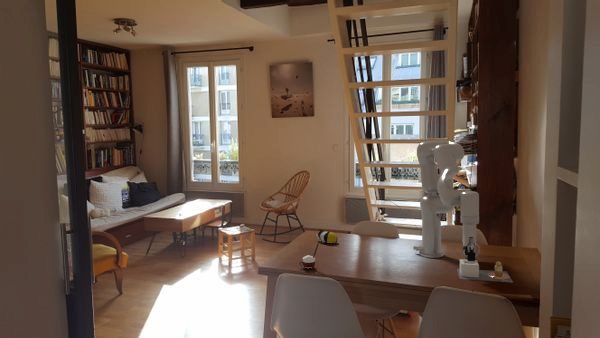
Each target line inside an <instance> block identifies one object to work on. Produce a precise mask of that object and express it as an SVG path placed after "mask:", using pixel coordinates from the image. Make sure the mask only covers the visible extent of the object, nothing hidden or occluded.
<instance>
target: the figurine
mask: <svg viewBox="0 0 600 338" xmlns="http://www.w3.org/2000/svg"><path fill="white" fill-rule="evenodd" d="M318 230H319V231H318V233H316V234H315V235H316V236H315V237H316V238H317V240H318V239H319V242H321V241H323V242H322V243H325V242H326V243H325V244H327V243H334V244H336V243H337V242H338V238H339V237H338V236H337V234H335V232H333V231H325V230H324V229H321V228H318Z"/></svg>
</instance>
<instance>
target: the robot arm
mask: <svg viewBox="0 0 600 338" xmlns="http://www.w3.org/2000/svg"><path fill="white" fill-rule="evenodd" d="M416 157H417V160H418V163H419V167H420V179H421V187H422V188H421V189H422V192H424V193H429V194H430V193H431V194H432V193H438V194H433V195H431V194H430V195H425V196H422V198H421V199H420V202H419V206H420V210H421V211H420V212H421V245H419V246H417V245H413V246H412V247H413V250H414V251H418V255H419V256H421V257H424V258H430V259H438V258H439V259H440V258H443V257H444V256H445V253H444V251H442V222H441V221H442V220H441V219H440V217H439V216H438V215H437V214H447V213H452V212H453V211H454V210H455V207H460V223H461V224H462V245H463V246H465V255H466V256H467V260H468V261H475V254H476V246H477V245H476V244H477V225H479V223H480V202H479V201H480V194H479V193H478V192H477V191H472V190H470V189H466V188H465V189H458V188H457V189H454V182H453V179H452V178H455V176H457V175H458V173H459V172H460V166H459V165H458V162H457V161H462V160H463V159H464V158H465V150H464V147H463V146H462V145H461V144H460V143H458V142H453V141H451V140H427V141H423V142H420V143H419V144H418V145H417V148H416ZM433 158H434V159H435V160H434V159H433ZM438 170H439V173H440V174H439V173H438ZM465 255H464V256H465Z"/></svg>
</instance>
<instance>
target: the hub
mask: <svg viewBox="0 0 600 338" xmlns="http://www.w3.org/2000/svg"><path fill="white" fill-rule="evenodd" d="M494 271H495V272H491V273H488V274H487V276H488V277H490V278H494V279H500V280H505V279H509V278H511V277H510V275H509V274H508V275H507V274H504V273H502V271H503V264H502V261H496V262H495V265H494Z"/></svg>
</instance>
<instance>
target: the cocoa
mask: <svg viewBox="0 0 600 338" xmlns="http://www.w3.org/2000/svg"><path fill="white" fill-rule="evenodd" d="M318 247H319V243H317V244H316V247H315V249H314V253H313V255H305V256H303V257H302V261H300V262H299V265H300V266H301V267H302V266H304V267H315V265H316V258H315V256H316V254H317V251H318ZM304 267H303V268H304Z"/></svg>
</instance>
